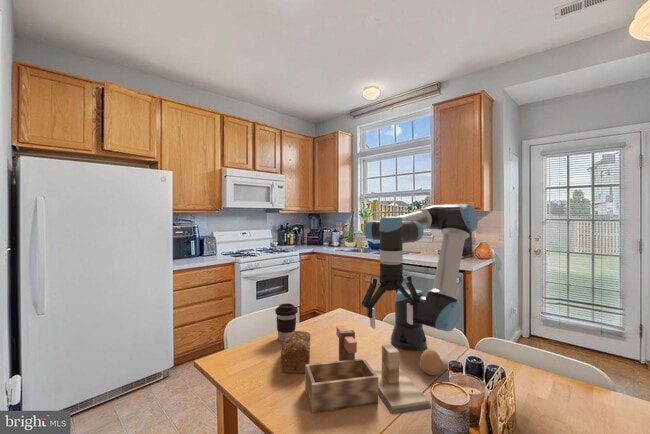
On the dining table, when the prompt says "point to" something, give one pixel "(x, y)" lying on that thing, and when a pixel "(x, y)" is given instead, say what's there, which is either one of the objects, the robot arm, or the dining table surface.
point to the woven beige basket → (341, 382)
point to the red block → (347, 340)
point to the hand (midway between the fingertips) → (391, 325)
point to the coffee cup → (285, 320)
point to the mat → (404, 408)
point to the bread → (295, 352)
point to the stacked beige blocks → (397, 382)
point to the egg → (430, 362)
